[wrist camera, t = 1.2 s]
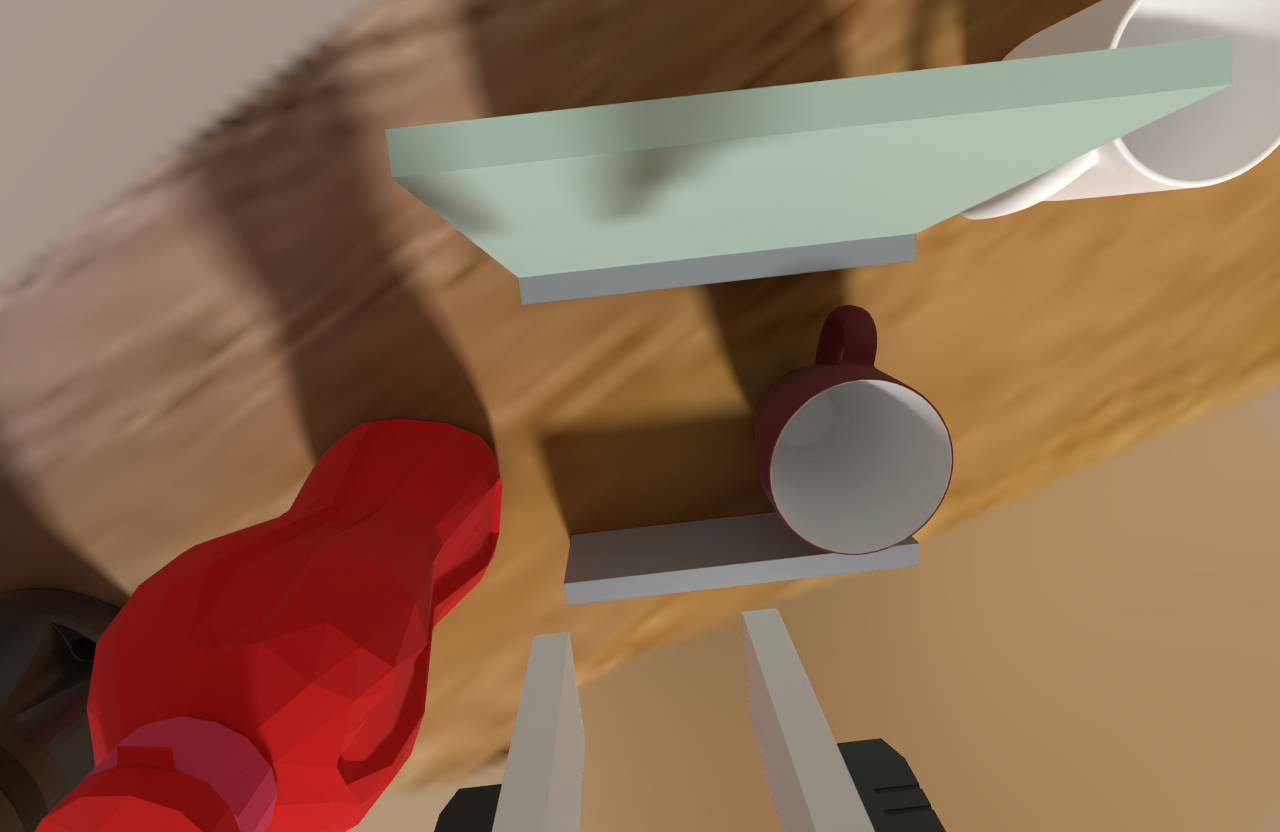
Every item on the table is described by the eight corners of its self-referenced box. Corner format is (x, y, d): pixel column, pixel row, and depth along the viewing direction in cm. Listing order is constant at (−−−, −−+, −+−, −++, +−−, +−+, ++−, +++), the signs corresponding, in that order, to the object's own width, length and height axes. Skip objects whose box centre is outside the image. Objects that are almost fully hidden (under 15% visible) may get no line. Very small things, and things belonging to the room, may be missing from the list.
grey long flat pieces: (574, 553, 41) (567, 605, 35) (534, 272, 37) (518, 277, 31) (876, 519, 41) (919, 565, 35) (868, 234, 37) (916, 233, 31)
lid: (391, 177, 15) (385, 129, 15) (518, 277, 31) (515, 255, 31) (1232, 84, 15) (1230, 35, 15) (916, 233, 31) (914, 210, 31)
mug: (733, 298, 37) (774, 316, 28) (880, 297, 38) (971, 315, 28) (728, 482, 40) (763, 557, 30) (866, 480, 40) (944, 554, 31)
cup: (1156, 131, 36) (1358, 89, 26) (965, 279, 38) (1088, 292, 28) (1076, -7, 34) (1260, -107, 25) (879, 154, 36) (978, 121, 26)
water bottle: (341, 586, 41) (-63, 1086, 17) (342, 406, 38) (-136, 688, 14) (498, 598, 41) (329, 1101, 17) (509, 422, 39) (328, 721, 14)
